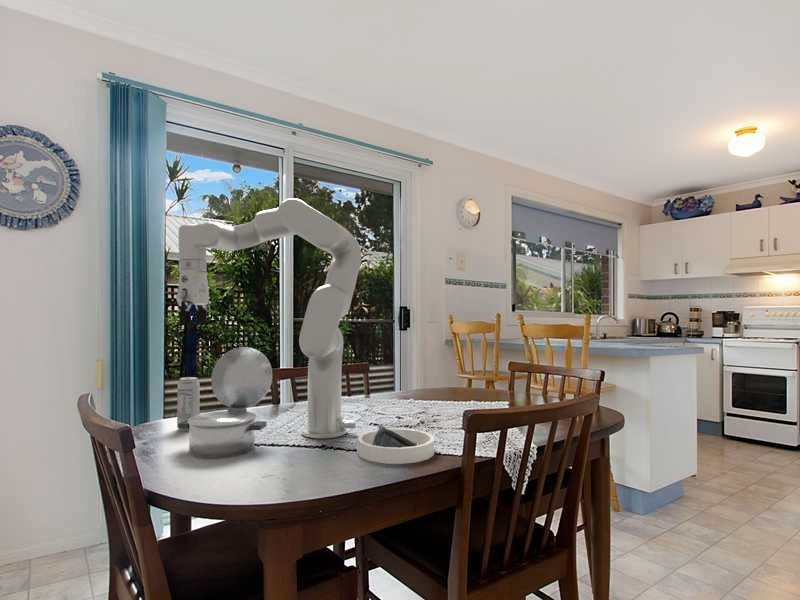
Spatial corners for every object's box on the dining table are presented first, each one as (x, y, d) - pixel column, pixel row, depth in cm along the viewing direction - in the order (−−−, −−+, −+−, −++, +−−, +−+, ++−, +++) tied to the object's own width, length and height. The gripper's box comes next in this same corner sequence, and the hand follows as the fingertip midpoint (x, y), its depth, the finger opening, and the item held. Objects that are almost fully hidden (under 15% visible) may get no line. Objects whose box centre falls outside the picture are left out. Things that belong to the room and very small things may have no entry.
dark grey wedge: (422, 451, 127) (389, 416, 129) (425, 451, 120) (390, 414, 122) (395, 479, 125) (362, 443, 127) (396, 480, 118) (362, 442, 120)
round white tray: (434, 442, 133) (434, 429, 133) (433, 464, 114) (433, 449, 114) (364, 440, 135) (364, 427, 135) (351, 462, 116) (351, 447, 116)
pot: (275, 440, 135) (276, 410, 135) (250, 460, 117) (251, 426, 117) (200, 438, 137) (200, 409, 137) (164, 457, 119) (164, 424, 119)
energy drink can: (203, 427, 148) (204, 377, 148) (188, 432, 143) (188, 380, 143) (188, 426, 150) (188, 376, 151) (172, 430, 145) (172, 379, 145)
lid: (267, 412, 134) (271, 413, 138) (273, 346, 139) (277, 349, 143) (206, 410, 135) (212, 411, 139) (214, 346, 140) (220, 348, 144)
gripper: (190, 263, 138) (191, 325, 138) (217, 268, 155) (218, 323, 155) (164, 264, 139) (165, 326, 138) (194, 269, 156) (195, 324, 156)
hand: (193, 324), depth 147 cm, fingers open, 9 cm apart
